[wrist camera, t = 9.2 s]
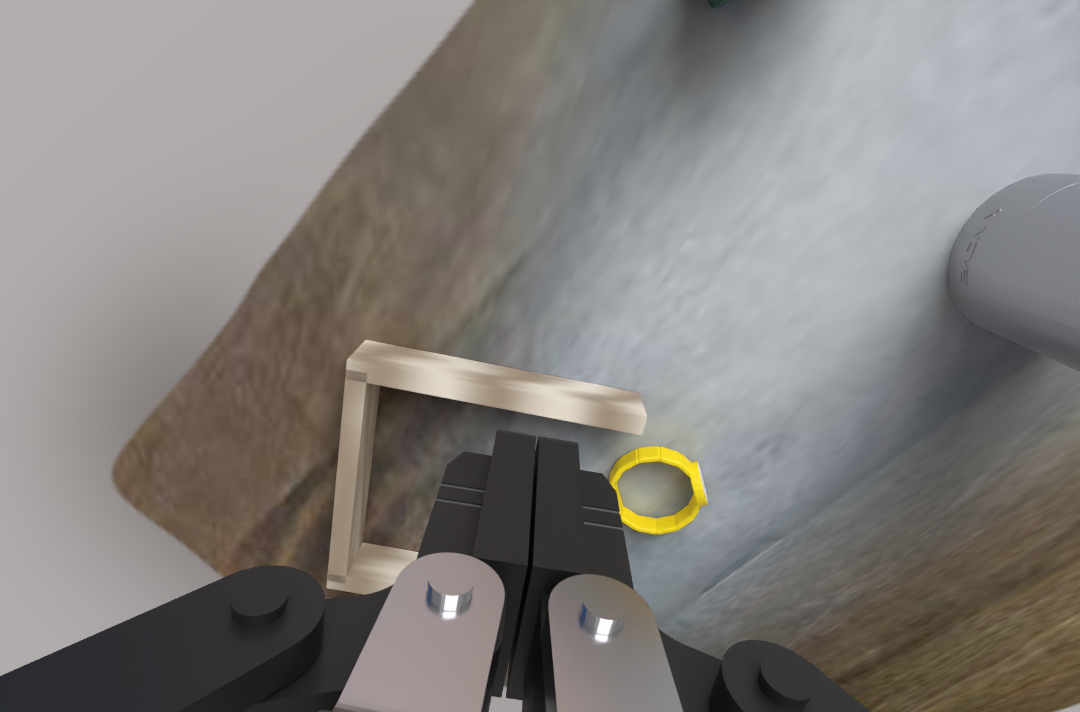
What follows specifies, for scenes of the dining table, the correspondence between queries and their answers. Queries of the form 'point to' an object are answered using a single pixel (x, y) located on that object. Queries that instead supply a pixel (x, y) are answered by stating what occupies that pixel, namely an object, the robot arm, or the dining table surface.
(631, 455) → the watch
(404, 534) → the dining table surface
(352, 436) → the open wooden frame
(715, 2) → the crayon box
